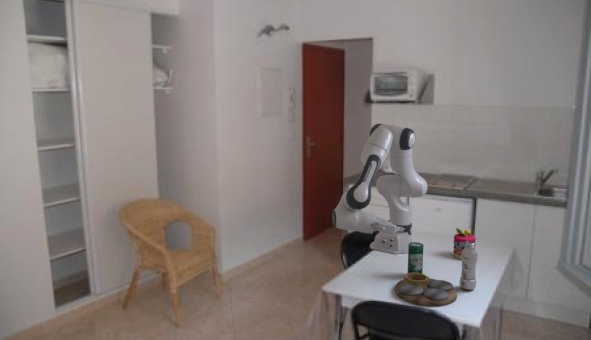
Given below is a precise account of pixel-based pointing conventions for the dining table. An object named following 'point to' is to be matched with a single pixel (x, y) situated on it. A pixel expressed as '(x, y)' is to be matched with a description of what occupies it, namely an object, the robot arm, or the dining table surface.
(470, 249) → the plastic bottle
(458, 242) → the cake
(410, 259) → the can
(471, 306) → the dining table surface
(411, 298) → the wooden stone platter
